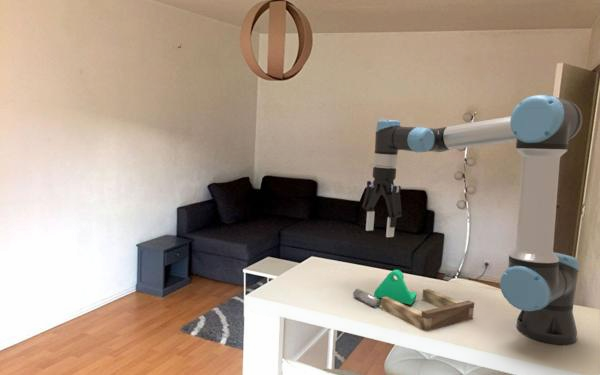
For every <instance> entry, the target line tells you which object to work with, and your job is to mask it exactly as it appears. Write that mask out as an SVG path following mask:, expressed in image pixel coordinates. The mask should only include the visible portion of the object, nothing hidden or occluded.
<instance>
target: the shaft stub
mask: <svg viewBox="0 0 600 375" xmlns="http://www.w3.org/2000/svg"><path fill="white" fill-rule="evenodd" d="M352 296H353V297H354V298H355V299H356V300H359V301H361V302H363V303H365V304H367V305H369V306H371V307H372V308H375V309H378V308H381V302H382V299H381V298H379V297H375V296H374V295H372V294H371V293H368V292H366V291H363V290H361V289H360V288H356V289H354V291H353V293H352Z"/></svg>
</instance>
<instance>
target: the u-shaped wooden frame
mask: <svg viewBox="0 0 600 375" xmlns="http://www.w3.org/2000/svg"><path fill="white" fill-rule="evenodd" d="M421 300H422V301H424V302H427V303H428V304H431V305H433V306H435V308H429V309H426V310H421V311H419V310H416V309H414V308H412V307H410V306H408V305H407V304H406V305H405V303H399V302H397V301H395V300H393V299H391V298H389V297H382V298H381V306H380V309H382V310H383V311H385V312H386V313H388V314H391V315H393V316H395V317H396V318H399V319H400V320H403V321H404V322H407V323H409V324H410V325H413V326H415V327H417V328H418V329H420V330H422V331H425V332H428V331H432V330H436V329H439V328H444V327H447V326H450V325H451V326H452V325H455V324H458V323H462V322H467V321H470V320H473V319H474V318H473V316H474V312H475V310H474V309H475V302H474V301H471V300H465V301H458V300H457V299H455V298H452V297H449V296H447V295H445V294H441V293H440V292H437V291H434V290H432V289H430V288H424V289H422V298H421Z"/></svg>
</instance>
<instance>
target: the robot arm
mask: <svg viewBox="0 0 600 375" xmlns="http://www.w3.org/2000/svg"><path fill="white" fill-rule="evenodd" d="M582 125H583V115H582V111H581V109H580V108H579V107H578V105H577V104H575V103H574V102H572V101H571V100H568V99H565V98H560V97H556V96H553V95H551V94H535V95H531V96H529V97H526V98H524V99H523V100H521V101H520V102H519V103H518V104H517V105H516V106H515V107H514V109H513V111H512V112H511V115H510V116H505V117H499V118H498V117H497V118H492V119H487V120H480V121H475V122H468V123H462V124H457V125H451V126H442V127H439V128H437V127H435V128H431V127H430V128H429V127H423V126H417V127H416V126H415V127H414V126H401V121H399V120H397V119H378V121H377V123H376V128H375V129H376V130H375V140H374V141H375V144H374V155H373V163H372V164H373V165H374V166H373V168H372V178H373V179H374V180H367V181H366V190H365V193H364V198H363V202H362V206H361V208H362V209H364V210H365V212H366V214H365V220H366V223H365V231H367V232H369V231H374V227H375V226H374V224H375V213H376V212H375V207H376V204H377V203H378V201H379V199H380V197H381V196H383V199H384V200H385V205H386V208H387V211H388V217H387V221H386V233H385V237H386V238H394V237H395V228H396V226H397V218H399V217H402V216H403V211H402V202H401V188H402V186H400V185H395V184H394V180H395V179H396V177H397V176H396V175H397V169H396V167H397V165H398V164H397V162H398V152H399V151H407V152H413V153H427V152H435V153H441V152H442V153H443V152H447V151H450V150H451V151H453V150H459V149H467V148H475V147H484V146H492V145H493V146H494V145H500V144H509V143H516V145H515V150H516V152H518V153H519V154H520V155H521V164H520V165H521V166H520V180H519V181H520V183H519V195H518V196H519V197H518V198H519V199H518V210H517V211H518V212H517V225H516V226H517V227H516V242H515V248H514V249H513V250H512V251H510V252H509V254H508V263H507V264H508V266H507V269H505V270H504V271H503V273H502V274H501V277H500V280H499V287H500V290H501V293H502V295H503V297H504V298H505V299H506V301H507V302H508V303H509V304H510V305H511V306H513V307H514V308H516V309H518V310H520V312H519V315H518V316H517V319H516V324H515V325H516V326H515V327H516V329H517V330H518V332H520V333H521V334H523V335H524V336H526V337H529V338H531V339H533V340H537V341H539V342H544V343H547V344H554V345H571V344H574V343H576V341H577V339H578V338H577V337H578V330H577V325H576V321H575V316H574V312H573V310H574V304H575V296H576V295H575V294H576V288H577V282H578V275H579V273H580V269H579V265H580V263H579V262H580V261H579V260H578V259H577V258H576V257H574V256H571V255H568V254H565V253H559V252H555V251H554V243H555V230H556V228H555V227H556V216H557V215H556V214H557V201H558V191H559V190H558V188H559V175H560V174H559V173H560V161H561V157H562V156H563V155H564V154H566V153H567V152H568V148H569V147H568V146H569V140H571V139H572V138H574V137H575V136H576V135H577V134H578V133H579V132H580V129H581V128H582Z"/></svg>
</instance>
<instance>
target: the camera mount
mask: <svg viewBox="0 0 600 375" xmlns="http://www.w3.org/2000/svg"><path fill="white" fill-rule="evenodd" d="M394 276H395V277H396V278H395V277H394ZM404 278H405V277H404V274H403V272H402V271H401V270H400V269H393V270H392V271H390V272H389V273H388V274H387V276H385V278H384V280H383V281H382V282H381V283H380V284H379V285H378V287H377V288H376V289H375V290H374V292H373V296H374V297H376V298H378V299H382V297H389V298H391V299H393V300H395V301H397V302H399V303H402V304H406V305H412V304H413V303H414V302H415V301H416V300H417V296H418V294H417V293H418V292H417V293H416V292H414V291H409V289H408V286H407V284H406V281H405V280H404Z"/></svg>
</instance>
